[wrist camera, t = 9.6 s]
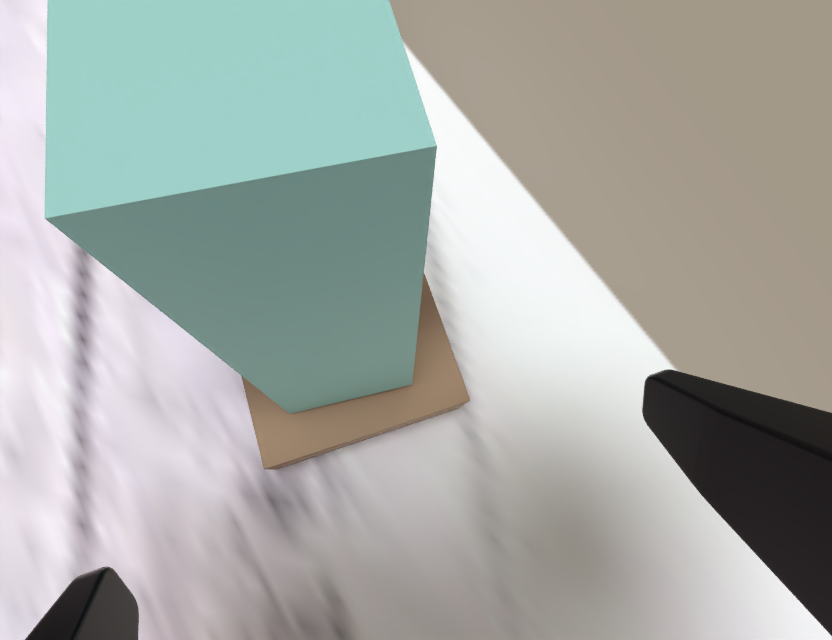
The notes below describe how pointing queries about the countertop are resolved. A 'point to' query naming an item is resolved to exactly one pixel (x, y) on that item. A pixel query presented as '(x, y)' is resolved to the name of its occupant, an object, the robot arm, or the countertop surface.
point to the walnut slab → (363, 403)
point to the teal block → (250, 179)
